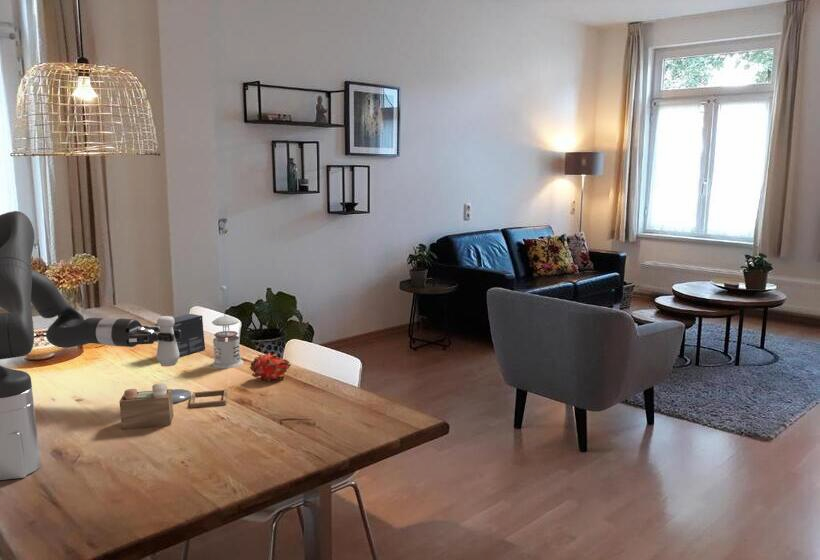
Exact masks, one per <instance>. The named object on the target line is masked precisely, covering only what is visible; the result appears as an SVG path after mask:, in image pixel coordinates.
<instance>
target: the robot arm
mask: <svg viewBox="0 0 820 560" xmlns="http://www.w3.org/2000/svg"><path fill="white" fill-rule="evenodd" d="M35 237H36V236H35V229H34V226H33V223H32V221H31V219H30V218H29V217H28V216H27V215H26V214H25V213H24V212H23V211H18V210H12V211H8V212H6V213H2V214H0V308H1V309H3V310H5V312H0V360H7V359H15V358H16V359H17V358H20V357H25V356H28V355H29V354H30V353H31V352H32V350H33V348H34V343H35V332H34V320H33V312H32V311H33V310H32V306H33V307H34V309H35V310H36V312H37V313H38V315H39V316H41V317H42V318H44V319H52V318H55V317H57V318H56V319H55V320H54V321H53V323H52V324H51V325H49V327H48V328H47V330H46V333H45V337H46V340H47V341H48V343H49V344H51V345H52V346H54V347H57V348H63V349H64V348H66V349H67V348H74V347H79V346H84V345H88V344H89V345H90V344H94V345H95V344H97V345H105V346H109V347H110V346H112V347H123V348H124V347H125V348H128V347H129V348H134V347H136V346H137V345H153V344H154V343H158V342H160V341H165V342H172V341H174V334H175V338H181V330H176V329H173V330H174V334H173V333H160V327H159V326H158V325H157V323H155V325H150V324H143V325H142V324H141V322H139V320H137V319H135V318H119V317H108V318H105V317H103V318H102V317H89V318H86V319H85V318H84V316H83V315H82V314H81V313H80V312H79V311H78V310H76V309H75V308H74V307H73V306H72V305H71V304H70V303H68V302H67V301H66V300H65V299H64V297H63V295H62V293H61V291H60V290H59V289H58V287H57V285H55V283H54V282H53V280H51V278H49V277H48V276H46V275H44V274H43V273H41V272H39V271H36V270H34V269H32V255H33V251H34V246H35ZM32 384H33V383H32V377H31V375H30V374H29V373H28V372H26V371H23V370H17V369H15V368H14V369H13V368H8V367H6V366H3V365H0V481H4V480H11V479H13V480H14V479H24V478H26V477H27V475H29V474H32V473H33V472H36V471H37V470H38V469H39V468H40V467H41V466H42V459H41V452H40V444H39V436H38V428H37V427H38V426H37V420H36V418H37V417H36V412H35V411H36V410H35V403H34V394H33V393H34V392H33V386H32Z"/></svg>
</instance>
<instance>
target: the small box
mask: <svg viewBox="0 0 820 560" xmlns="http://www.w3.org/2000/svg"><path fill="white" fill-rule="evenodd" d="M173 318H174V321H175V323H174V325H173V329H176V330H181V338H176V342H177V346H178V350H179V358H183V357H186V356H188V355H192V354H195V353H199V352H201V351H204V350H206V344H205V335H204V323H203V322H204V321H203V315H199V314H193V313H187V314H183V315H179V316H175V317H174V316H173Z"/></svg>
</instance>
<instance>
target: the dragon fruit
mask: <svg viewBox="0 0 820 560" xmlns="http://www.w3.org/2000/svg"><path fill="white" fill-rule="evenodd" d="M291 365H292V364H291V363H290V362H289V360H288V359H285V358H282V357H279V355H278V354H277V353H274V352H273V354H272V355H271V353H269V352H268V353H264V355H262V354H261V353H260V354H258V355H257V357H256V356H255V358H254V360H252V361H251V362H250V367H249V368H250V370H251V372H252V374H251V376H252V377H254V378H258V377H260V380H261V381H264V380H265V381H268V382H270V381H271V380H282V379H283V378H284V374H285V373H287V371H288V369H289V368H290V367H291Z"/></svg>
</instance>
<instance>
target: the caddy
mask: <svg viewBox="0 0 820 560" xmlns="http://www.w3.org/2000/svg"><path fill="white" fill-rule="evenodd" d="M151 387H152V390H146V391H145V390H143V391H138V390H137V389H136V388H131V389H126V390H124V393H123V394H122V396H121V398H120V400H119V411H120V412H119V413H120V422H121V430H130V429H140V428H141V429H142V428H149V427H151V428H152V427H161V426H162V427H163V426H170V425H172V421H173V418H174V404H173V402H172V390H173V389H172V388H171V389H170V388H169V389H167V387H168V386H167V383H164V382H159V383H155V384H153V385H152V386H151Z"/></svg>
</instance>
